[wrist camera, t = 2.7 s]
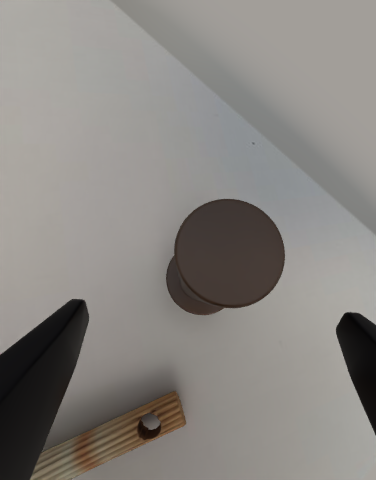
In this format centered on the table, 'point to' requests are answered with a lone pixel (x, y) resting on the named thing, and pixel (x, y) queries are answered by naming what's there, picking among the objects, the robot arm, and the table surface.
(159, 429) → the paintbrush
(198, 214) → the pestle
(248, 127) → the table surface
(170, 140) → the table surface
